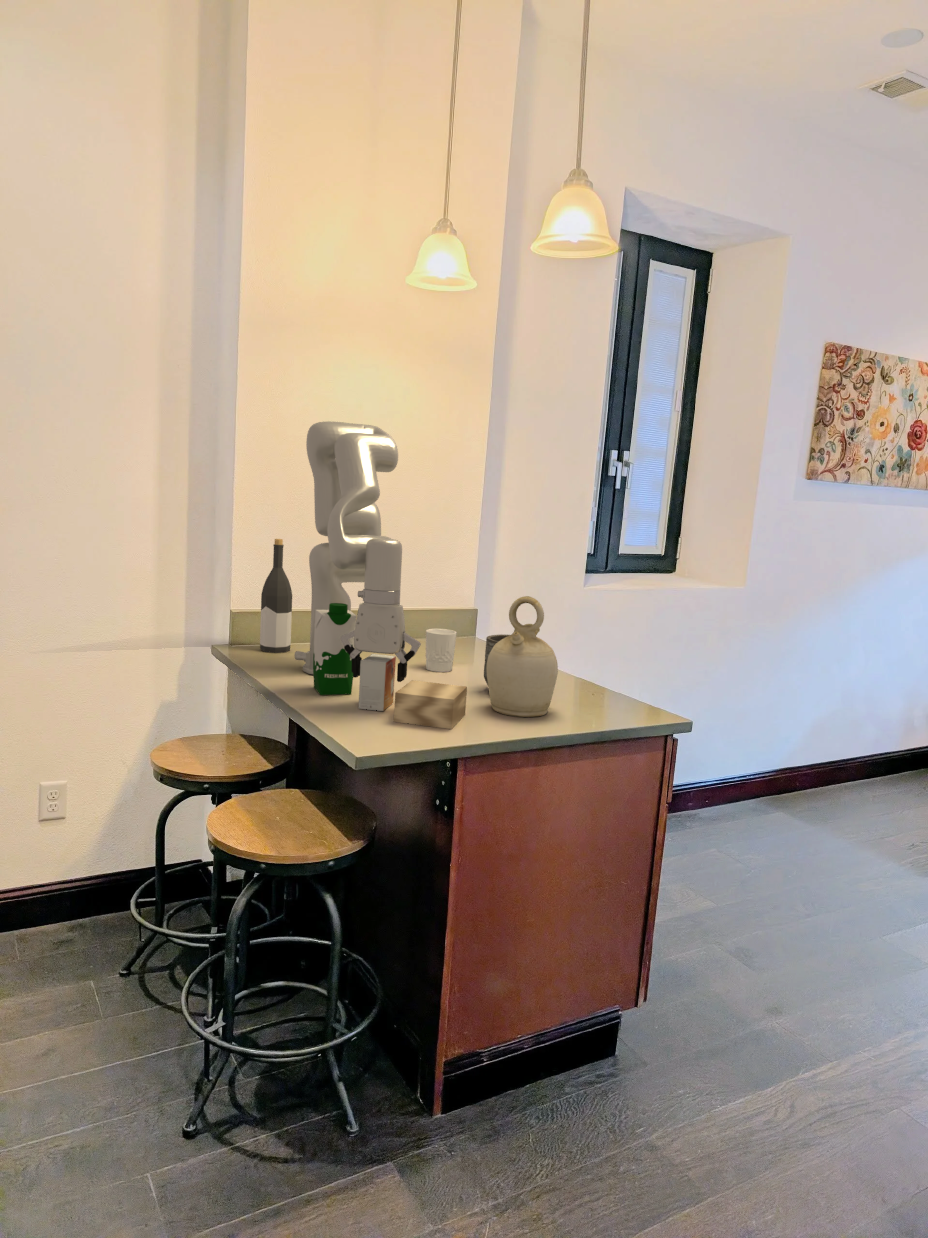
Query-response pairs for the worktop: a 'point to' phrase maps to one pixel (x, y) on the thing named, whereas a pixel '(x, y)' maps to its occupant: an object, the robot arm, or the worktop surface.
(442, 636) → the white cup
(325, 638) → the milk carton
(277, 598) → the wine bottle
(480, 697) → the worktop surface
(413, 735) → the worktop surface
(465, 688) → the beech block
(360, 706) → the small box
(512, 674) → the jug
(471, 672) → the worktop surface
